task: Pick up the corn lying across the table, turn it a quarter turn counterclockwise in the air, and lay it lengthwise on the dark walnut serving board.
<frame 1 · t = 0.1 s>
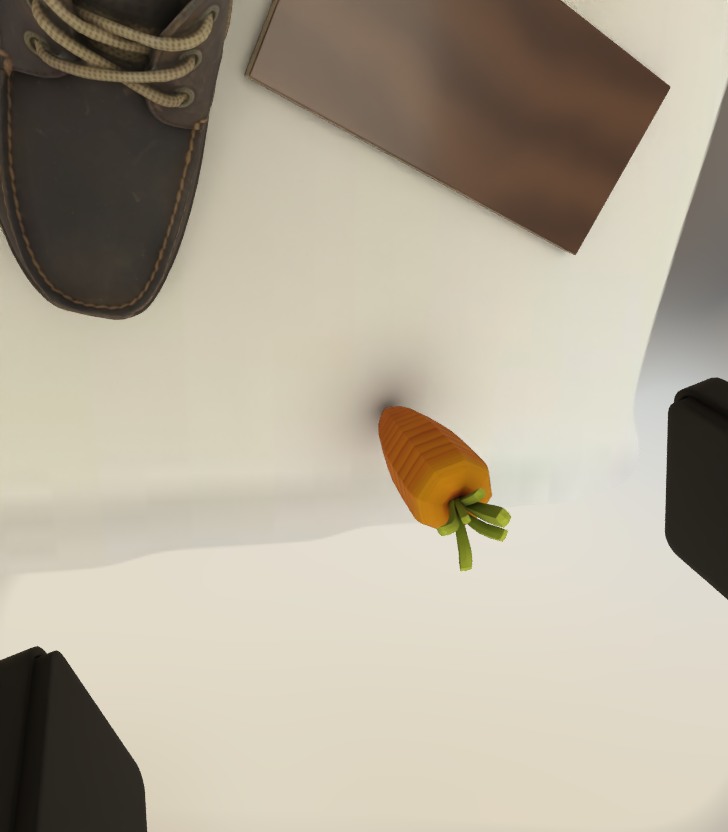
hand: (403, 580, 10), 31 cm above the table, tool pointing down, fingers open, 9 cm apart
carrot: (386, 410, 46), on the table
board: (471, 81, 38), on the table
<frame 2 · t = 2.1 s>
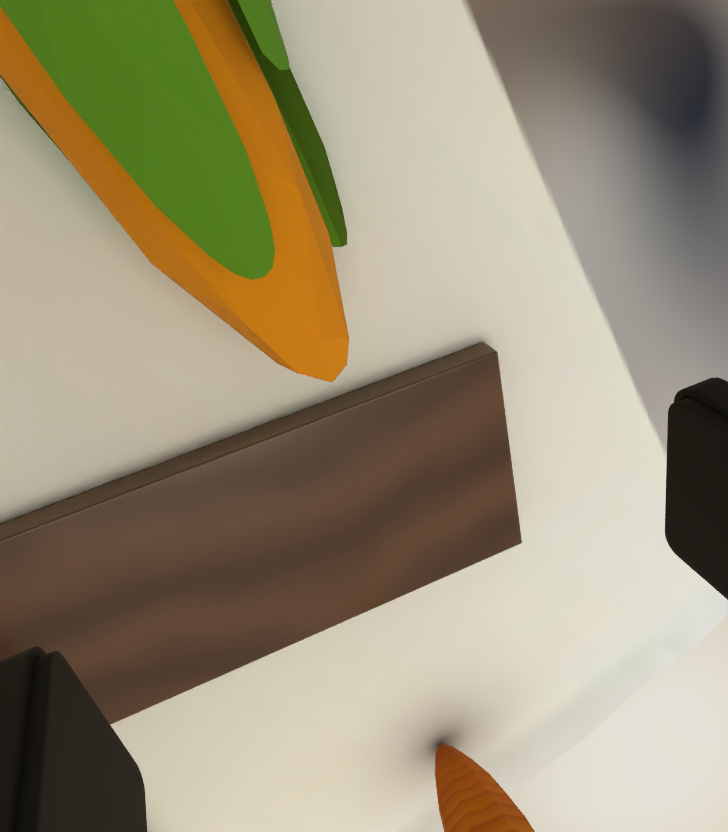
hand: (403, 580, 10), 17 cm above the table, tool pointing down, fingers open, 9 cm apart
carrot: (439, 743, 42), on the table
board: (269, 537, 30), on the table
corn: (162, 87, 21), on the table
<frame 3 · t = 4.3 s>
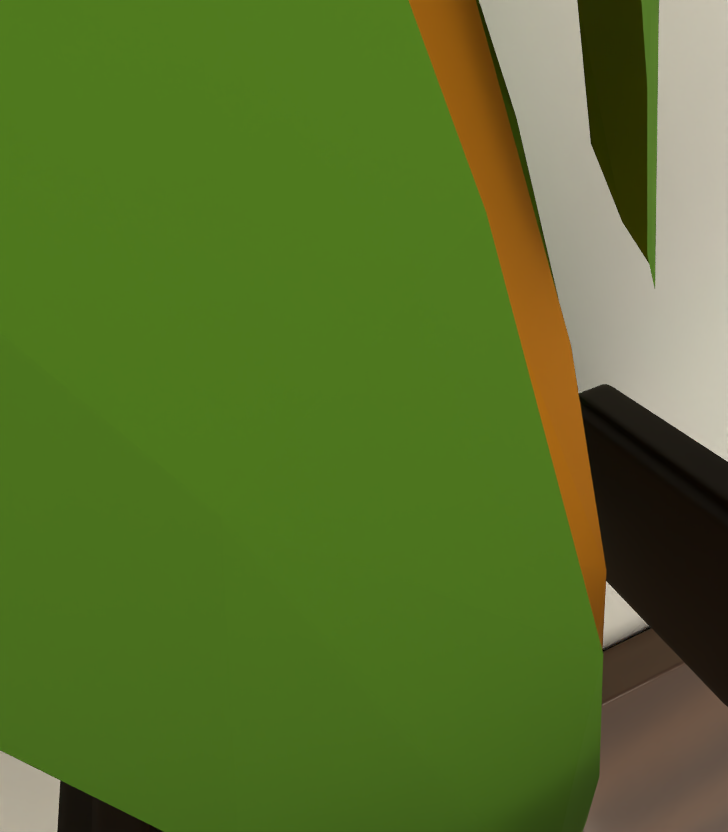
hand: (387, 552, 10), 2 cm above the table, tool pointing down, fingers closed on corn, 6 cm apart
corn: (207, 222, 9), on the table, touching gripper
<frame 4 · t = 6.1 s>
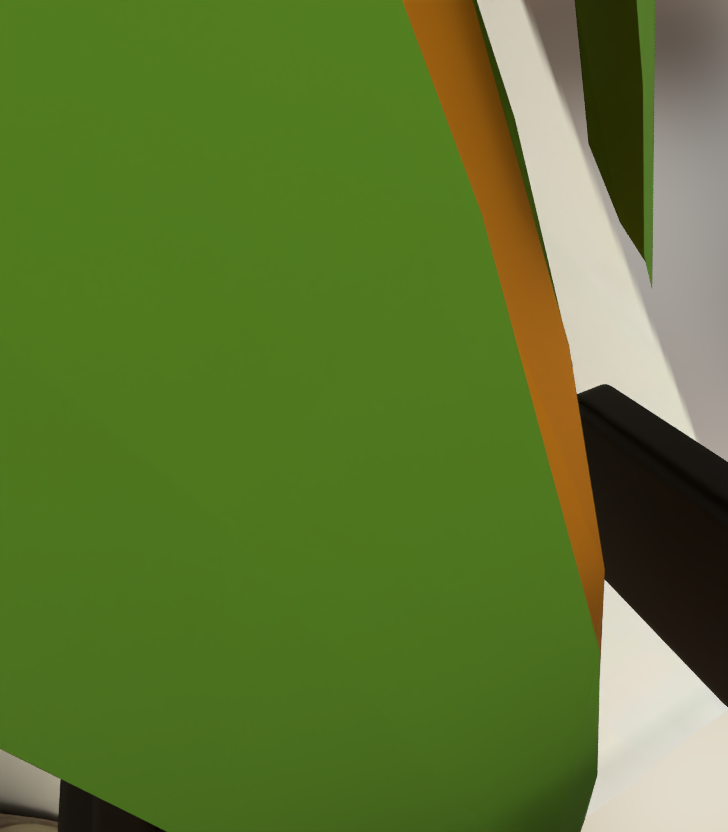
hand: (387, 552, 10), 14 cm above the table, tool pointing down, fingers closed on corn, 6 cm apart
corn: (206, 222, 9), point 12 cm above the table, touching gripper
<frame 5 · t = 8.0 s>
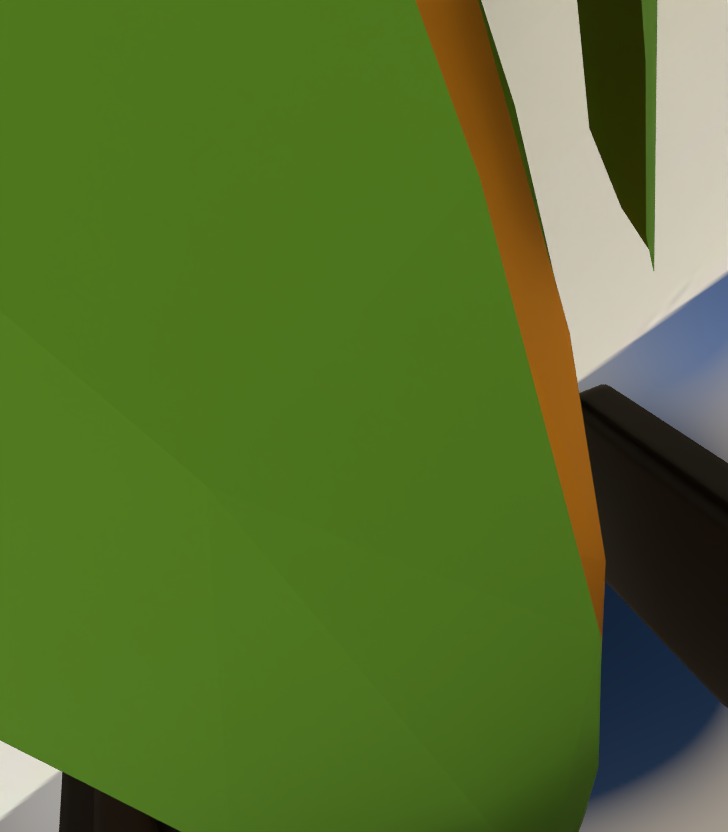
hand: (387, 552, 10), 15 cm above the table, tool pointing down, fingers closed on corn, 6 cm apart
corn: (204, 213, 9), point 13 cm above the table, touching gripper
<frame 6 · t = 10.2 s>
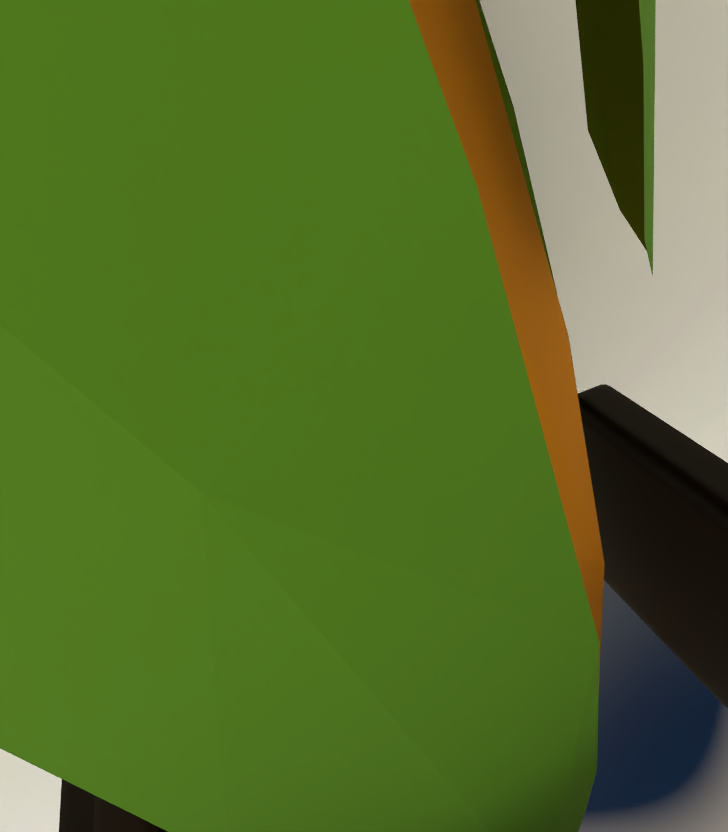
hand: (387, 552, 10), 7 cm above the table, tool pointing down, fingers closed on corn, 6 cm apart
corn: (202, 214, 9), point 5 cm above the table, touching gripper
when the fingers open (3 cm above the table, at t = 11.7 s): corn stays where it is, resting on board.
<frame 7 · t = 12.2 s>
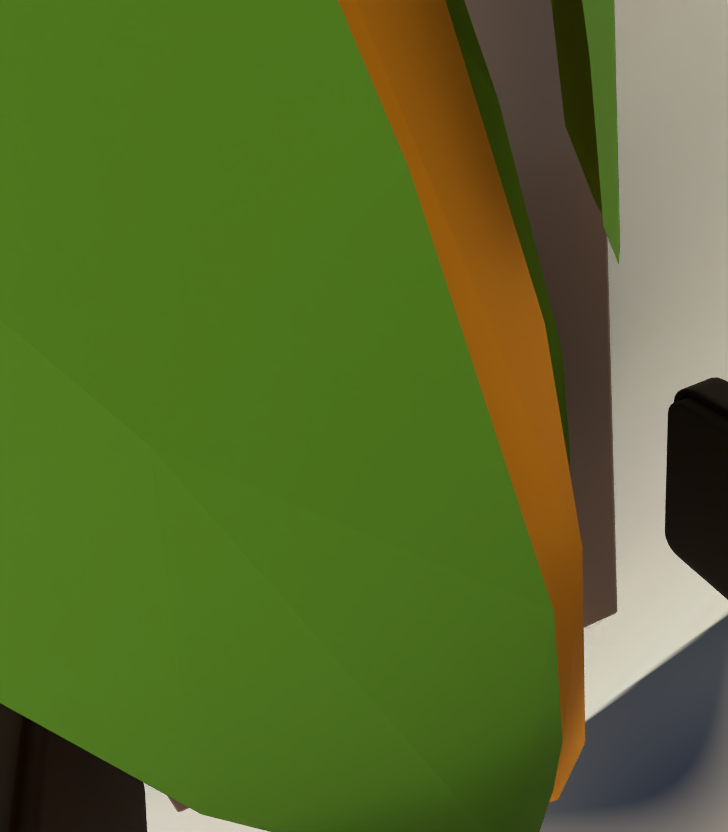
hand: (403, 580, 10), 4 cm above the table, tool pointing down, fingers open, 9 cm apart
board: (254, 197, 11), on the table
corn: (201, 209, 9), point 1 cm above the table, touching board
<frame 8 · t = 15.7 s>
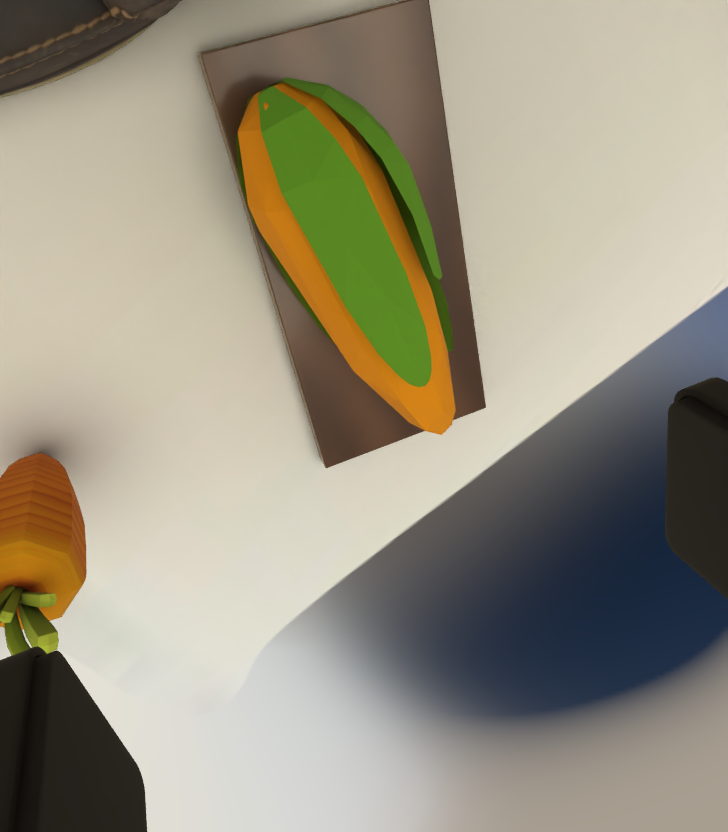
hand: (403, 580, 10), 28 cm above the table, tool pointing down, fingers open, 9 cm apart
carrot: (40, 456, 37), on the table
board: (363, 258, 38), on the table
corn: (353, 263, 36), point 1 cm above the table, touching board
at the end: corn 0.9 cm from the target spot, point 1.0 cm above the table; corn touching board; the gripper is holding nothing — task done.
